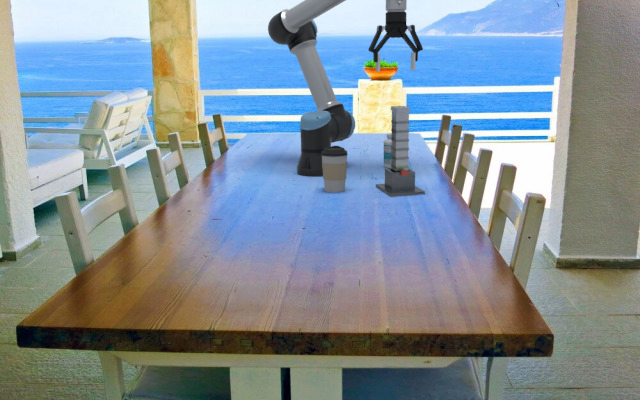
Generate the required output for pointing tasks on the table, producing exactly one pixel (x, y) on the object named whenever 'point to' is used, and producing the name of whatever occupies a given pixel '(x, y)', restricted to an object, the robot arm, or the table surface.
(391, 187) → the stand
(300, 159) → the robot arm
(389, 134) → the pill bottle
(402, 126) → the column
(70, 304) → the table surface
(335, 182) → the coffee cup
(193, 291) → the table surface
